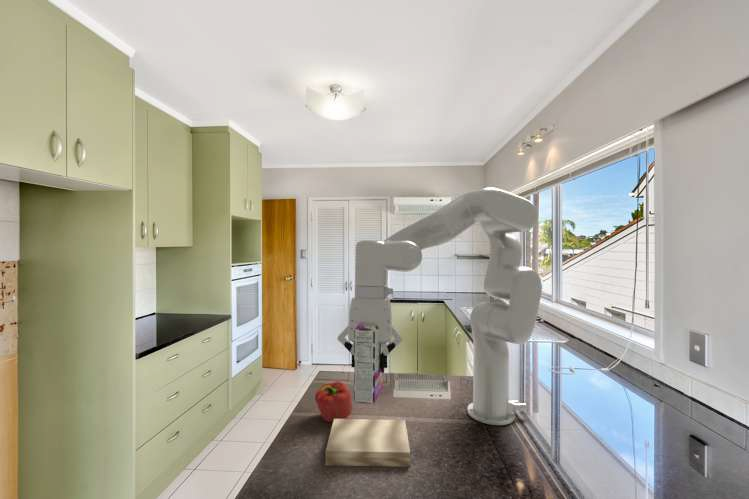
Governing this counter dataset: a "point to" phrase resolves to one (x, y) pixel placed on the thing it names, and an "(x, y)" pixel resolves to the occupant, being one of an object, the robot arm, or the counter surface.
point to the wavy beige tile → (368, 443)
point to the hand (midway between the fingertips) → (369, 369)
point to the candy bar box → (367, 364)
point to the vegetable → (334, 401)
